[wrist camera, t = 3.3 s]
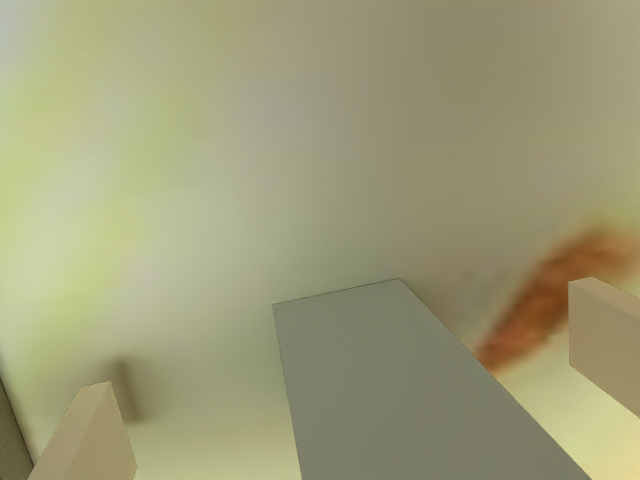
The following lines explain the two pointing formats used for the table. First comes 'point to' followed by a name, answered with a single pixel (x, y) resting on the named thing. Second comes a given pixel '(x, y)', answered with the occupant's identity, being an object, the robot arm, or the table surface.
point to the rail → (12, 445)
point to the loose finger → (401, 396)
